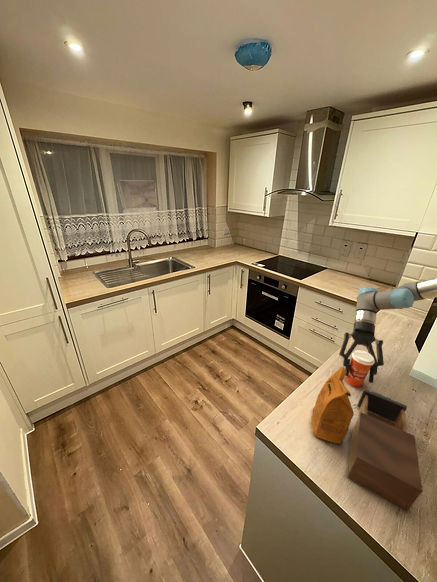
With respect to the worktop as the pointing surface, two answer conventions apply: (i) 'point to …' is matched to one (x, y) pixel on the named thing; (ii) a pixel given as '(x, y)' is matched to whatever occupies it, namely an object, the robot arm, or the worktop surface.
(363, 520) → the worktop surface
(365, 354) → the paper cup
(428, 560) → the worktop surface
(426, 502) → the worktop surface
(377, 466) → the cabinet
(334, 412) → the coffee package
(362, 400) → the drawer
